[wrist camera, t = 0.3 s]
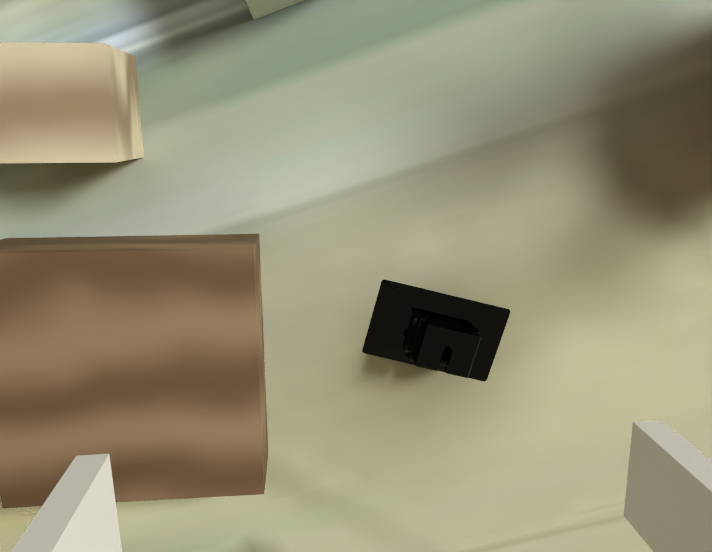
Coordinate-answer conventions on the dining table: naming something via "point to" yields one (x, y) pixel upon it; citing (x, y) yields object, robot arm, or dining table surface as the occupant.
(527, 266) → the dining table surface
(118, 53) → the maple cube
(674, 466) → the robot arm
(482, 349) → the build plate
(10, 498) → the walnut block
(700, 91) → the dining table surface
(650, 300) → the dining table surface
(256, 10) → the sage cube
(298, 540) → the dining table surface
